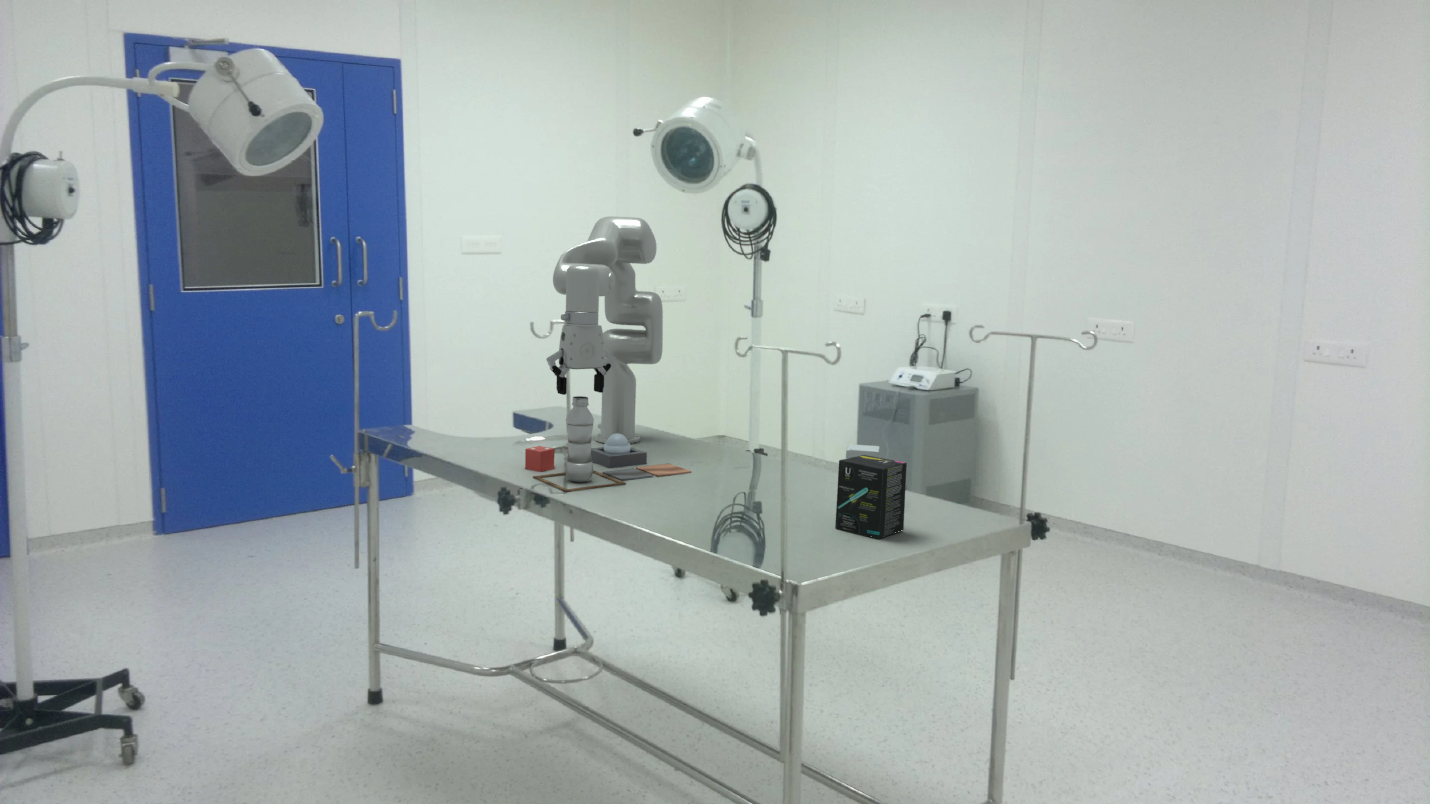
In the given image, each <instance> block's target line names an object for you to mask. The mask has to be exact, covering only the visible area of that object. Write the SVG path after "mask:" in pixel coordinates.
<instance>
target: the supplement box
mask: <svg viewBox="0 0 1430 804" xmlns="http://www.w3.org/2000/svg"><path fill="white" fill-rule="evenodd" d="M880 447H881V446H879V445H868V444H867V445H866V444H850V443H849V444H847V448H846V450H845V459H848V458H851V457H857V456H862V455H867V456H873V457H878V458H880V453H881V451H880V449H881V448H880Z"/></svg>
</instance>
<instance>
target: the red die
mask: <svg viewBox="0 0 1430 804" xmlns="http://www.w3.org/2000/svg"><path fill="white" fill-rule="evenodd" d="M524 451H525V454H524V455H525V456H524V457H525V458H524V459H525V463H524V466H525V467H524V469H525V470H528V471H534V472H539V473H542V472H545V471H549V470H553V469H555V448H554V447H547V446H542V445H537V446H532V447H528V448H525V450H524Z"/></svg>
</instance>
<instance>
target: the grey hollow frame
mask: <svg viewBox="0 0 1430 804" xmlns="http://www.w3.org/2000/svg"><path fill="white" fill-rule="evenodd" d="M591 456H592V463H594V464H596V465H600V466H603V467H605V468H608V469H614V468H616V469H617V468H623V467H631V466H632V467H633V466H640V465H647V464H648V461H647V459H648V457H647V456H648V453H647V451H643V450H640V449H637V448H635V447H632V446H631V448H630V453H623V454H614V455H612V454H609V453H606V452H604V446H599V447H591Z"/></svg>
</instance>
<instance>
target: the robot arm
mask: <svg viewBox="0 0 1430 804" xmlns="http://www.w3.org/2000/svg"><path fill="white" fill-rule="evenodd" d="M656 255H657V240H656V238H655V234H654V233H653V231H652V228H651V227H650V224H648V221H646V220H644V219H643V218H642V217H632V216H629V217H628V216H604V217H602V218H599V219H598V220H597V221H596V222H595V223H594V226H593V228H592V230H591V231H590V234H589V236H588V239H587V240H586V241H584V242H582V243H579V244H577V245H574V246H573V247H571V248H568V249H566V250H565V251H564V252H563V253H562V254H561V255H560V257H559V259H558V261H557V263H556V265H555V267H554V271H553V273H552V274H553V275H552V283H553V284H552V285H553V287H554V289H555V291H556V292H557V293H558V294H561V295H565V311H564V314H561V315H560V320H561V321H564V323H565V324H563V325H562V328H561V333H560V340H559V347H558V349H559V350H558V351H556V352H554V353H553V354H552V355H549V356H547V358H546V362H547V365H548V366H549V369H550V371H551V372H552V373H553V374H554V376H555V377H556V391H557V394H559V395H564V396H565V395H567V392H568V386H567V385H568V379H567V376H566V375H567V373H569V371H570V370H591V369H592V370H594V372H595V374H594V375H593V391H594V392H597V393H600V394H601V412H600V413H601V415H600V417H601V418H600V419H601V421H600V423H598V424H597V429H599V430H600V433H598V434H595V441H597V442H598V443H603V444H605V443H607V440H608V438H609V437H610V436H611V435H613V434H622V435H624V436H625V437H626V439H627V440H628V443H631V444H635V443H634V442H636V443H638V441H639V440H640V441H641V436H640V435H638V434H636V430H635V429H636V427H635V426H636V403H637V402H636V401H637V400H636V399H637V396H636V395H637V394H636V393H637V379H636V375H635V373H634V372H633V370H632V369H631V368H630V366H629V365H630V364H632V365H656V364H658V363H659V362H660V360H661V359H662V357H663V339H664V338H663V335H664V333H663V332H664V331H663V329H664V328H663V327H664V325H663V324H664V323H663V318H664V316H663V313H664V312H663V301H662V298H661V297H660V295H659V294H658V293H657V292H654V291H646V290H645V291H643V290H637V289H636V271H635V269H634V268H633V266H632V264H637V265H638V264H641V265H647V264H651V263H652V262H653V261H654V259H655V258H656ZM600 297H604V314H605V319H606V321H607V322H608V323H611V324H613V325H620V326H636V327H637V326H639V327H640V326H641V327H643V328H644V329H632V328H612V329H607V330H605V331H603V327H602V325H600V324H599V312H600V311H599V307H600V305H599V303H600V302H599V301H600ZM556 361H558V365H559V366H558V365H557V363H556ZM640 441H639V442H640Z"/></svg>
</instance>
